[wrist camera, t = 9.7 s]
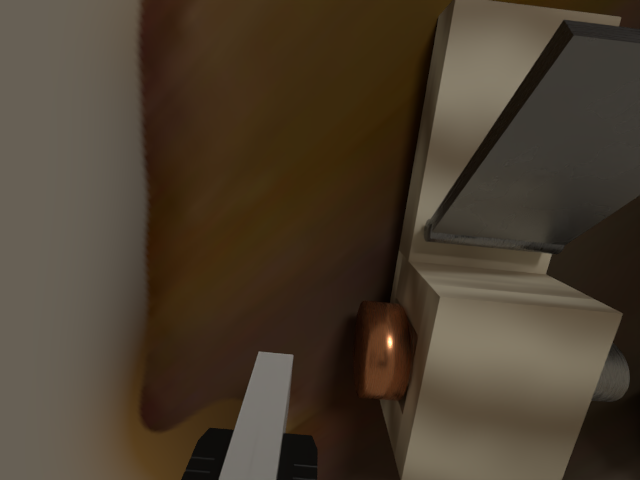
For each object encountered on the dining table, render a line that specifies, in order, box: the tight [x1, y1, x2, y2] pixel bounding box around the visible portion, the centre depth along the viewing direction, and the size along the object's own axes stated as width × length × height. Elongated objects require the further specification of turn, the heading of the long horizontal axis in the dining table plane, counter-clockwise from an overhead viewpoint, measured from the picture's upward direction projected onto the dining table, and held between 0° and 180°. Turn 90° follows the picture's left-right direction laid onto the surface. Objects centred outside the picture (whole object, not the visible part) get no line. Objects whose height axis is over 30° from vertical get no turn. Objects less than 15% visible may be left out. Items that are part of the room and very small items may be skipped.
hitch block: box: [380, 0, 623, 480], centre depth 17 cm, size 23×8×7 cm, turn 174°
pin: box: [353, 301, 630, 402], centre depth 18 cm, size 5×14×5 cm, turn 84°
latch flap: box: [424, 20, 640, 254], centre depth 13 cm, size 11×7×1 cm
